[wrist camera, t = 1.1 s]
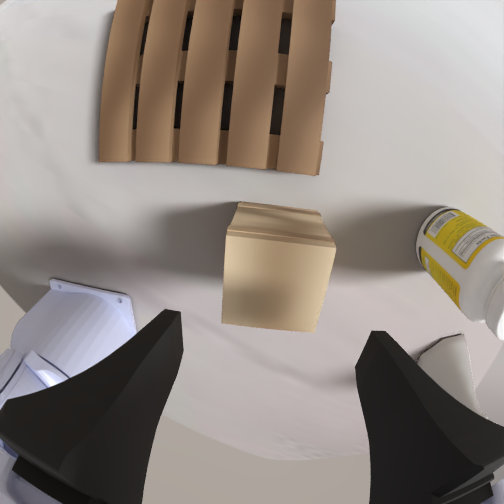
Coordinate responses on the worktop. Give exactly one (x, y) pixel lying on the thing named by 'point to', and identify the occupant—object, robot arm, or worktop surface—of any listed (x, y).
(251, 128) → the pallet
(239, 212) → the cardboard box
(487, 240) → the supplement bottle
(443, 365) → the flask
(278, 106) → the worktop surface
